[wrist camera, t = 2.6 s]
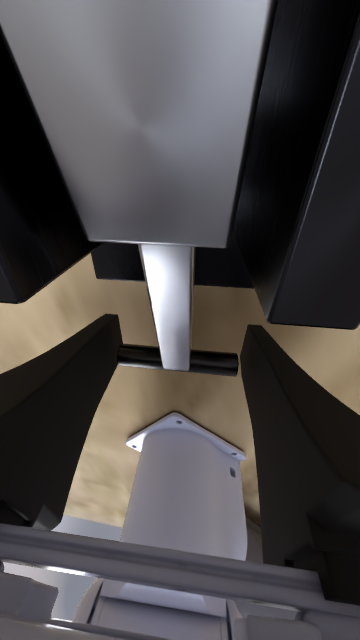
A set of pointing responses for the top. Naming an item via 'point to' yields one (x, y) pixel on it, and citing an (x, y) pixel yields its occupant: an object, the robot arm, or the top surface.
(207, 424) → the top surface
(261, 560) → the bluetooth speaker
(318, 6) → the tap bracket
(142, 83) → the tap lever
